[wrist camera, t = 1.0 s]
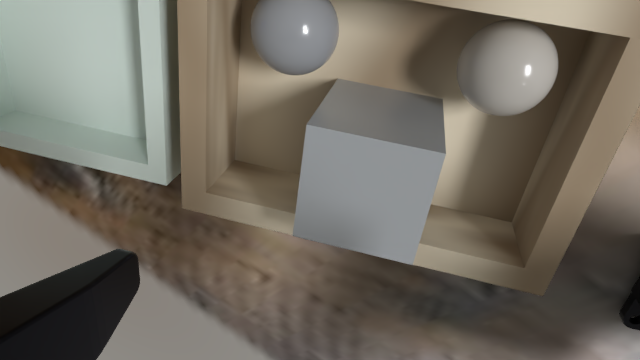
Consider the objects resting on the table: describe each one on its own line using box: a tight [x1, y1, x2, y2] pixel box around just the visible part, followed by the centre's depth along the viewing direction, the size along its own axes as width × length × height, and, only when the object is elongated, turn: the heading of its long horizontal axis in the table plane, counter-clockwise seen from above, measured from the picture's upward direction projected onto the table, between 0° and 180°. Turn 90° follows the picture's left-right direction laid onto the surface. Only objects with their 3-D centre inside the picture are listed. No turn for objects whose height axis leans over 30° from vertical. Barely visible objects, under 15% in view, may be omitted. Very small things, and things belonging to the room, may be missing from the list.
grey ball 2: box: [457, 19, 558, 116], centre depth 14 cm, size 3×3×3 cm
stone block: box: [293, 79, 446, 265], centre depth 16 cm, size 4×4×5 cm
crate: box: [177, 0, 640, 296], centre depth 16 cm, size 14×10×4 cm
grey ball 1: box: [250, 0, 339, 75], centre depth 15 cm, size 3×3×3 cm
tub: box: [0, 0, 181, 186], centre depth 18 cm, size 10×10×2 cm
